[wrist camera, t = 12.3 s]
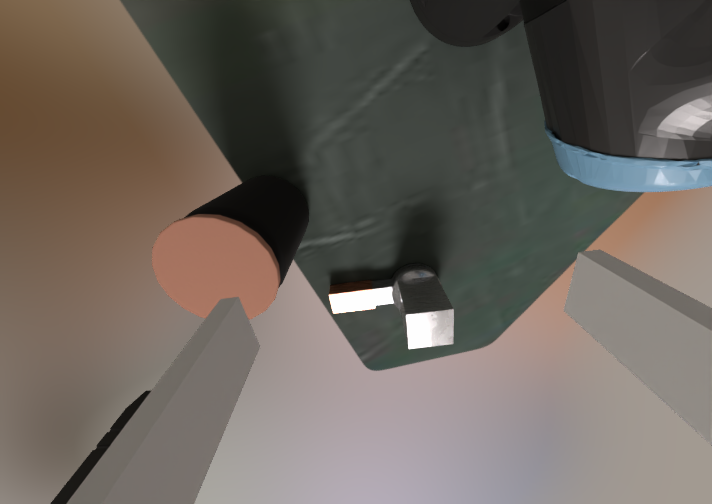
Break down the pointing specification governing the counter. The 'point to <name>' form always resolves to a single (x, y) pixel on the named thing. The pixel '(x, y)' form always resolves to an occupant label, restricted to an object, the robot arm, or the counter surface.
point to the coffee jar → (233, 247)
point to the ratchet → (374, 290)
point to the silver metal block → (425, 312)
